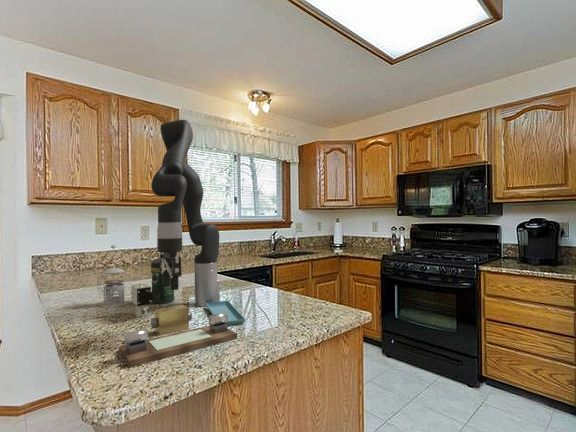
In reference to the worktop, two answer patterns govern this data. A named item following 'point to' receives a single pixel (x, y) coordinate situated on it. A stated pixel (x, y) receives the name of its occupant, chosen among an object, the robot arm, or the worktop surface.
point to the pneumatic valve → (141, 298)
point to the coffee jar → (160, 285)
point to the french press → (113, 288)
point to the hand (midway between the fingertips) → (170, 287)
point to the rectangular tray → (227, 307)
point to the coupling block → (171, 319)
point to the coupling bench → (174, 341)
